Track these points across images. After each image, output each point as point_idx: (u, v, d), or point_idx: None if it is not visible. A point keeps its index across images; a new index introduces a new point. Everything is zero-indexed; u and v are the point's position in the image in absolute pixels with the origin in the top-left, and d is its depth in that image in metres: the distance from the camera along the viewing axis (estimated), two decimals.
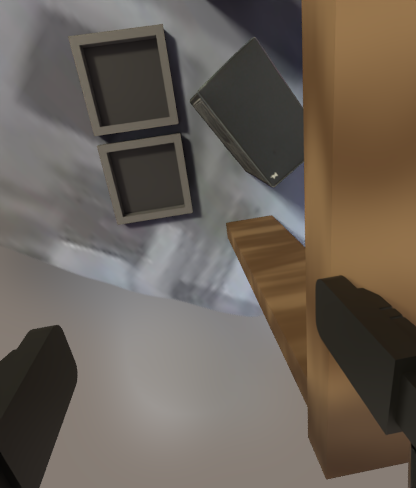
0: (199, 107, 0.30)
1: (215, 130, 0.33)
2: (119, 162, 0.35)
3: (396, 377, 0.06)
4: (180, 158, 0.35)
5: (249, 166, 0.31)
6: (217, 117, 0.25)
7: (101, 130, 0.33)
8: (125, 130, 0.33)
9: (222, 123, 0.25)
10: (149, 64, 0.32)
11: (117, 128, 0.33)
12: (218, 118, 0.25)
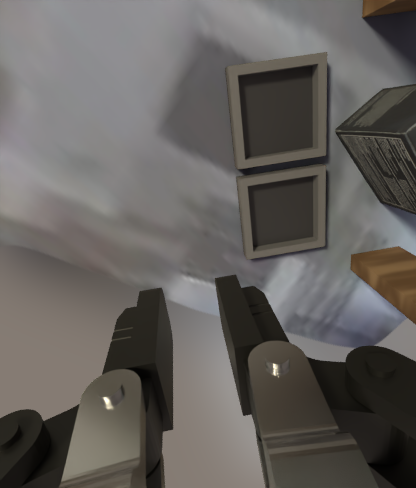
0: (363, 141, 0.28)
1: (369, 163, 0.30)
2: (253, 194, 0.33)
3: (240, 363, 0.07)
4: (321, 191, 0.32)
5: (415, 204, 0.28)
6: None
7: (246, 163, 0.31)
8: (270, 163, 0.31)
9: None
10: (300, 93, 0.30)
11: (262, 161, 0.31)
12: None
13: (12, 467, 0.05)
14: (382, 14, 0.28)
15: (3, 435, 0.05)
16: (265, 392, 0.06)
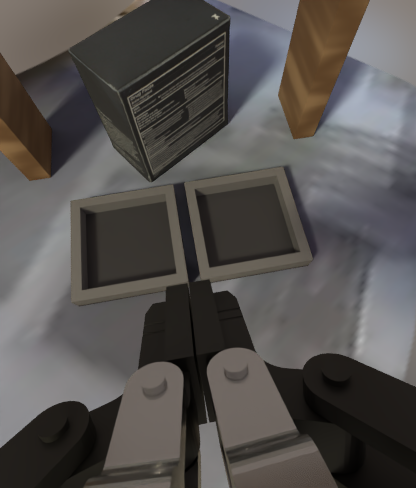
0: (150, 145, 0.26)
1: (178, 138, 0.28)
2: (223, 260, 0.26)
3: (203, 370, 0.07)
4: (213, 181, 0.27)
5: (212, 76, 0.25)
6: (147, 72, 0.20)
7: (180, 272, 0.24)
8: (180, 242, 0.25)
9: (154, 67, 0.21)
10: (110, 221, 0.28)
11: (178, 252, 0.25)
12: (148, 71, 0.21)
13: (64, 457, 0.05)
14: (50, 161, 0.30)
15: (52, 426, 0.06)
16: (218, 401, 0.06)
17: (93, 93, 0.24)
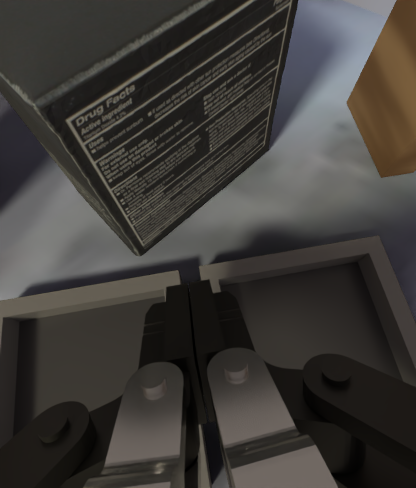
0: (134, 205, 0.13)
1: (188, 184, 0.15)
2: None
3: (203, 370, 0.07)
4: (253, 265, 0.15)
5: (259, 69, 0.13)
6: (117, 54, 0.08)
7: None
8: None
9: (135, 42, 0.08)
10: (63, 337, 0.15)
11: None
12: (120, 52, 0.08)
13: (65, 457, 0.05)
14: None
15: (52, 426, 0.06)
16: (219, 401, 0.06)
17: (11, 104, 0.11)
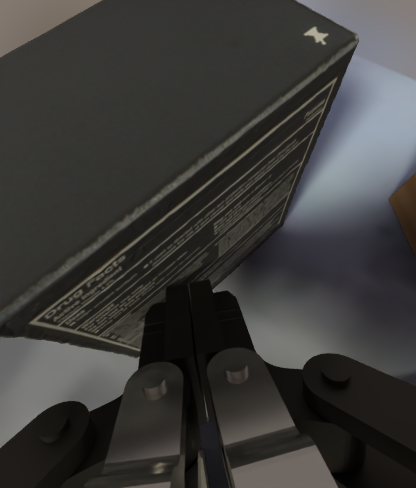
0: (129, 332, 0.11)
1: None
2: None
3: (203, 370, 0.07)
4: None
5: (280, 174, 0.10)
6: (99, 240, 0.06)
7: None
8: None
9: (125, 218, 0.06)
10: None
11: None
12: (103, 235, 0.06)
13: (64, 457, 0.05)
14: None
15: (52, 426, 0.06)
16: (219, 401, 0.06)
17: None
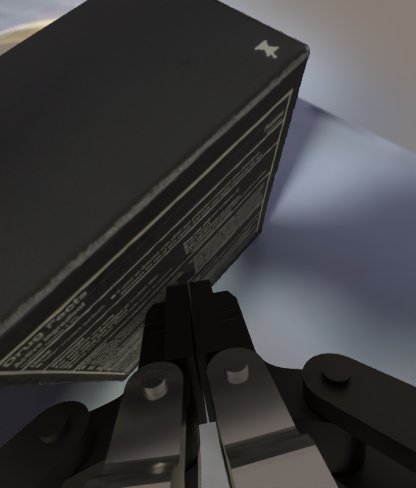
0: (108, 359, 0.11)
1: None
2: None
3: (203, 370, 0.07)
4: None
5: (249, 186, 0.10)
6: (52, 282, 0.05)
7: None
8: None
9: (79, 256, 0.06)
10: None
11: None
12: (57, 276, 0.05)
13: (65, 457, 0.05)
14: None
15: (52, 426, 0.06)
16: (218, 401, 0.06)
17: None
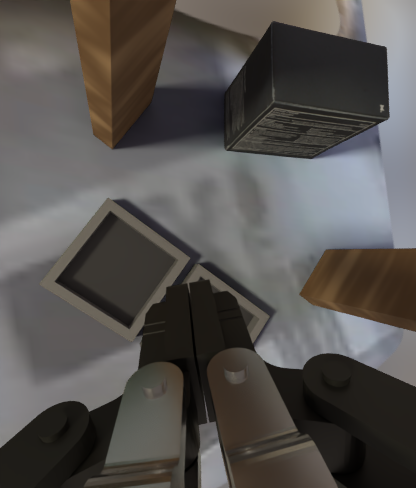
0: (252, 135, 0.28)
1: (273, 144, 0.30)
2: None
3: (203, 370, 0.07)
4: (217, 283, 0.29)
5: (337, 134, 0.28)
6: (304, 106, 0.23)
7: (133, 330, 0.27)
8: None
9: (311, 106, 0.23)
10: (122, 237, 0.28)
11: None
12: (305, 106, 0.23)
13: (64, 457, 0.05)
14: (124, 134, 0.29)
15: (52, 426, 0.06)
16: (219, 401, 0.06)
17: (254, 64, 0.25)
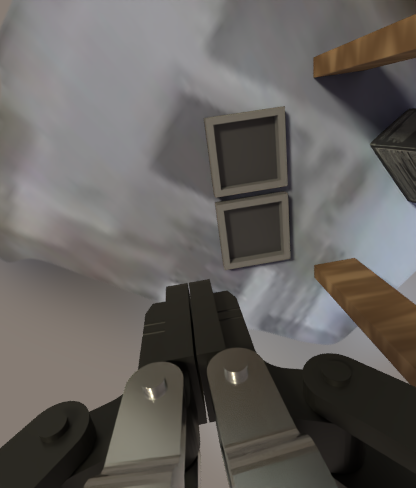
0: (397, 153, 0.35)
1: (400, 170, 0.37)
2: (230, 216, 0.40)
3: (203, 370, 0.07)
4: (285, 214, 0.39)
5: None
6: None
7: (222, 192, 0.38)
8: (242, 192, 0.38)
9: None
10: (265, 136, 0.37)
11: (235, 190, 0.38)
12: None
13: (64, 457, 0.05)
14: None
15: (52, 426, 0.06)
16: (219, 401, 0.06)
17: None
